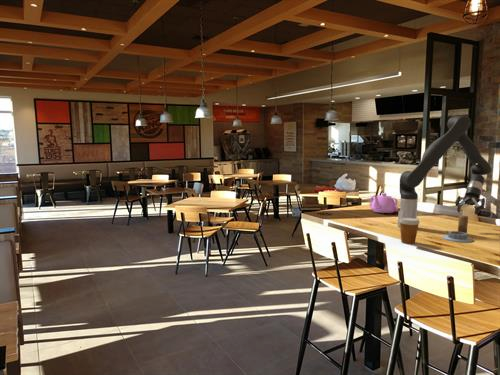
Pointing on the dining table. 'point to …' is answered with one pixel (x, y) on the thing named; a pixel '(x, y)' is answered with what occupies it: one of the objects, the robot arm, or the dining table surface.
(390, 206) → the teapot
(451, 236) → the ring socket
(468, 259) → the dining table surface
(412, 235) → the disposable coffee cup
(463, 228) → the walnut plug
